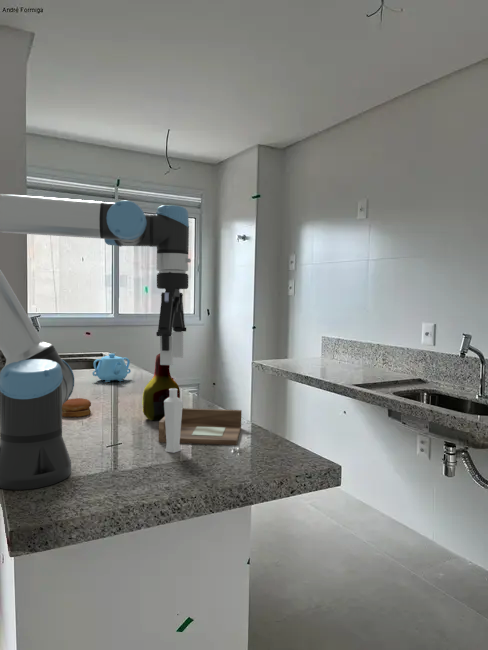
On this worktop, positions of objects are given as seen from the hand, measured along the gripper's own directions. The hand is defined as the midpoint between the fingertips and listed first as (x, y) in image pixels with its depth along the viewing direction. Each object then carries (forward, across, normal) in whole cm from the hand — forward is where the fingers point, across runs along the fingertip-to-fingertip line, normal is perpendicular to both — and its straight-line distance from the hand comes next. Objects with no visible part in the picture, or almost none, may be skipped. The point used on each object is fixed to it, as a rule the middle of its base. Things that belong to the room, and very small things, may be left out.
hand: (172, 361), depth 119 cm
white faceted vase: (+22, 0, 0) cm, 22 cm away
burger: (+22, +32, +37) cm, 54 cm away
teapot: (+22, +90, +44) cm, 103 cm away
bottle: (+22, +30, +9) cm, 38 cm away
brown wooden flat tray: (+22, +14, -6) cm, 26 cm away
